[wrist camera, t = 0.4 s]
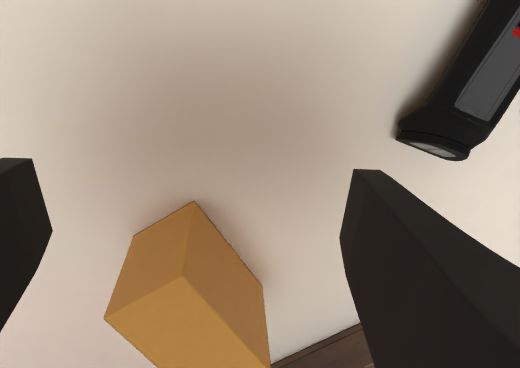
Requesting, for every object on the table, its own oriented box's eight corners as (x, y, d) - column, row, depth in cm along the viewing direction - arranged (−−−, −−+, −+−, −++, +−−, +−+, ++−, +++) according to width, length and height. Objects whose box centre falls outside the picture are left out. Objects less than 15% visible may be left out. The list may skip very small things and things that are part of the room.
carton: (206, 315, 25) (200, 407, 20) (133, 235, 22) (102, 318, 17) (262, 286, 24) (272, 374, 19) (194, 200, 21) (182, 275, 16)
